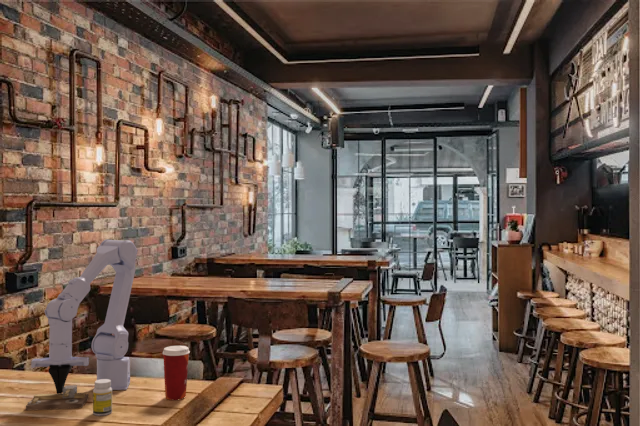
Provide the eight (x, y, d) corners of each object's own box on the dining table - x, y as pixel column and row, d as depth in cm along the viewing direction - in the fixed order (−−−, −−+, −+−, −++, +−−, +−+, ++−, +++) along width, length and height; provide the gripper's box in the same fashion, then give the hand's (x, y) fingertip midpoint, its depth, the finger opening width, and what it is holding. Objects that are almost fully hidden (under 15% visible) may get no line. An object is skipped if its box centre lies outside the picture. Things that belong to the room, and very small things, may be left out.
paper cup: (194, 397, 175) (195, 348, 175) (171, 403, 170) (172, 352, 170) (179, 391, 180) (179, 343, 181) (156, 397, 175) (156, 347, 175)
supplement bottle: (95, 410, 163) (96, 378, 163) (114, 410, 163) (114, 378, 163) (90, 416, 158) (90, 383, 158) (109, 416, 158) (109, 383, 158)
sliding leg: (76, 394, 172) (76, 385, 172) (71, 402, 165) (71, 392, 165) (65, 394, 171) (65, 385, 171) (59, 402, 164) (59, 392, 164)
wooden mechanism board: (88, 398, 173) (88, 390, 173) (81, 407, 164) (82, 399, 164) (35, 400, 171) (35, 392, 171) (25, 410, 162) (25, 401, 162)
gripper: (28, 346, 164) (27, 397, 164) (85, 345, 167) (84, 395, 166) (35, 341, 171) (35, 390, 171) (90, 340, 173) (89, 388, 173)
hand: (60, 392), depth 169 cm, fingers closed
